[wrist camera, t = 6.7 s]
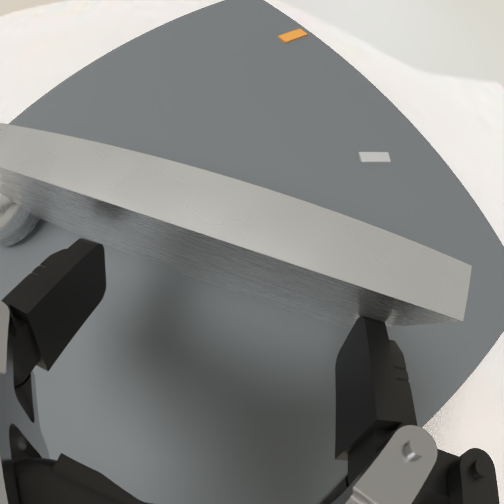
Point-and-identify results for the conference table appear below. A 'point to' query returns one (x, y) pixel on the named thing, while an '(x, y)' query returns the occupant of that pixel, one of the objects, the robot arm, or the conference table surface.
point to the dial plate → (230, 303)
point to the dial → (225, 232)
